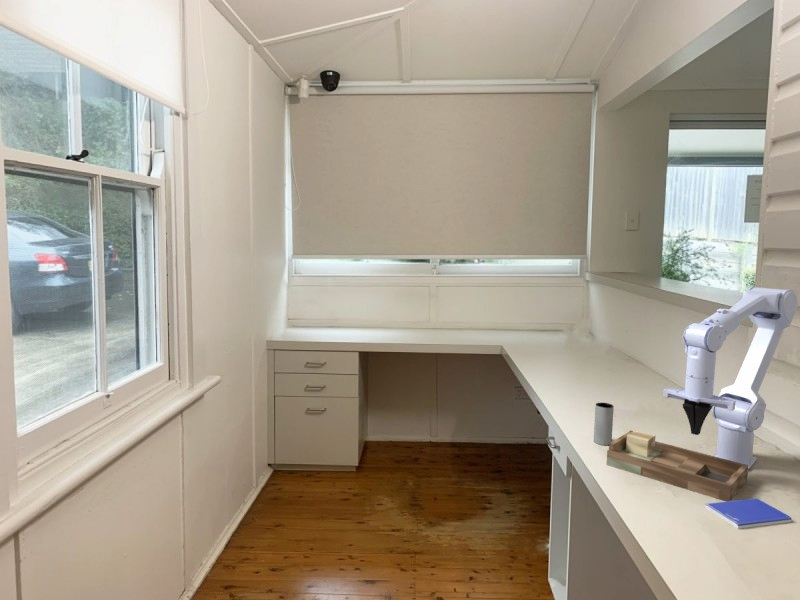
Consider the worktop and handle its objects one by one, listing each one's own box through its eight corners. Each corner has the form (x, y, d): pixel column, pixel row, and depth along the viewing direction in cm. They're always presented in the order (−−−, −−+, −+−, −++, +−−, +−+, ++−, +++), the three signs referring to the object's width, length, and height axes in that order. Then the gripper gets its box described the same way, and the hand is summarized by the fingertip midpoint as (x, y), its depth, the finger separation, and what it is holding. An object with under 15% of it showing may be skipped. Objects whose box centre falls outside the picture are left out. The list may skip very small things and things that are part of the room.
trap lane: (631, 448, 140) (632, 429, 139) (747, 480, 122) (748, 458, 121) (606, 464, 129) (607, 444, 129) (729, 502, 111) (731, 479, 111)
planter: (593, 444, 143) (595, 406, 141) (593, 438, 147) (595, 401, 146) (611, 446, 141) (613, 408, 140) (611, 440, 145) (613, 403, 144)
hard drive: (738, 523, 101) (792, 517, 104) (704, 502, 109) (755, 497, 112) (737, 531, 101) (791, 524, 104) (704, 510, 109) (754, 504, 112)
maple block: (633, 445, 136) (634, 430, 136) (654, 451, 133) (655, 435, 132) (625, 450, 133) (626, 435, 132) (646, 456, 129) (647, 440, 129)
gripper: (660, 373, 125) (656, 429, 127) (731, 385, 115) (726, 446, 117) (670, 368, 130) (667, 422, 132) (739, 379, 120) (734, 438, 122)
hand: (695, 433), depth 125 cm, fingers closed
